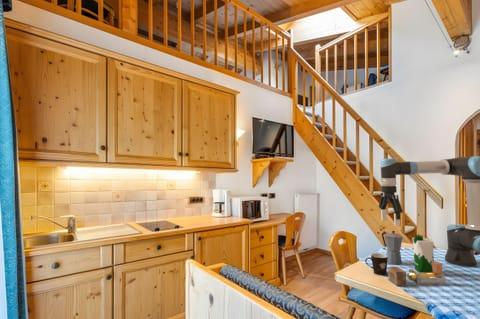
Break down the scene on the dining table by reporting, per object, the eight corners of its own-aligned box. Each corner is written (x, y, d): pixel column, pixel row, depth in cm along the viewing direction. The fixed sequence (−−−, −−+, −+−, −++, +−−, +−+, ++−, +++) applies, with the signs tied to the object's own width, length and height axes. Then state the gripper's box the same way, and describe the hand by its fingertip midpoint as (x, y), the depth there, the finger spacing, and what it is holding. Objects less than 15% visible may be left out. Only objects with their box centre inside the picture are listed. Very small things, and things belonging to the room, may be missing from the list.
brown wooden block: (398, 279, 144) (397, 266, 144) (406, 285, 137) (405, 271, 137) (388, 280, 144) (388, 266, 144) (396, 286, 137) (396, 271, 137)
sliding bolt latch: (436, 279, 144) (435, 267, 144) (445, 284, 137) (445, 272, 137) (409, 279, 144) (409, 268, 144) (418, 285, 137) (417, 273, 137)
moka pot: (399, 267, 161) (397, 233, 162) (376, 260, 176) (375, 228, 176) (409, 265, 165) (408, 231, 166) (387, 257, 179) (385, 227, 180)
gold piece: (438, 278, 142) (437, 261, 143) (443, 280, 139) (442, 263, 139) (407, 278, 142) (406, 262, 143) (412, 281, 139) (411, 264, 139)
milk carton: (412, 268, 160) (410, 234, 160) (429, 269, 158) (427, 234, 159) (419, 274, 151) (417, 237, 152) (437, 275, 149) (435, 238, 150)
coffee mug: (388, 271, 156) (387, 253, 156) (389, 277, 148) (388, 258, 148) (365, 268, 161) (365, 251, 161) (365, 274, 153) (364, 256, 153)
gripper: (371, 184, 168) (373, 219, 168) (394, 187, 143) (396, 227, 143) (383, 184, 168) (385, 218, 168) (408, 186, 143) (410, 227, 143)
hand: (390, 222), depth 155 cm, fingers open, 13 cm apart
